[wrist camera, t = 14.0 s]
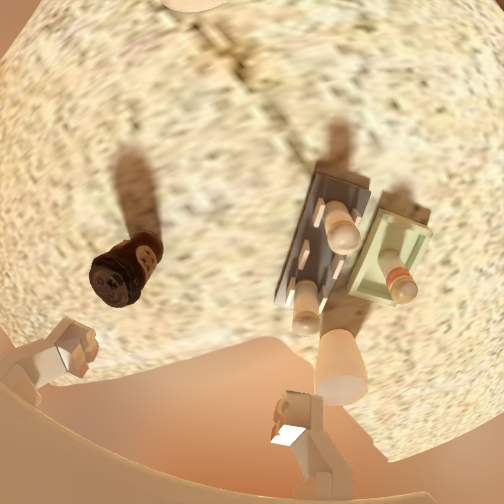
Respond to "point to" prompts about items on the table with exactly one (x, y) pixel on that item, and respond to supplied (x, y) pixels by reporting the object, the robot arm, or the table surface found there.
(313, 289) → the fuse
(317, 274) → the fuse block
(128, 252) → the coffee cup
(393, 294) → the fuse marked
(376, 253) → the tray
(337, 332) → the cup
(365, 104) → the table surface
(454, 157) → the table surface
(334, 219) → the fuse
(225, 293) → the table surface
